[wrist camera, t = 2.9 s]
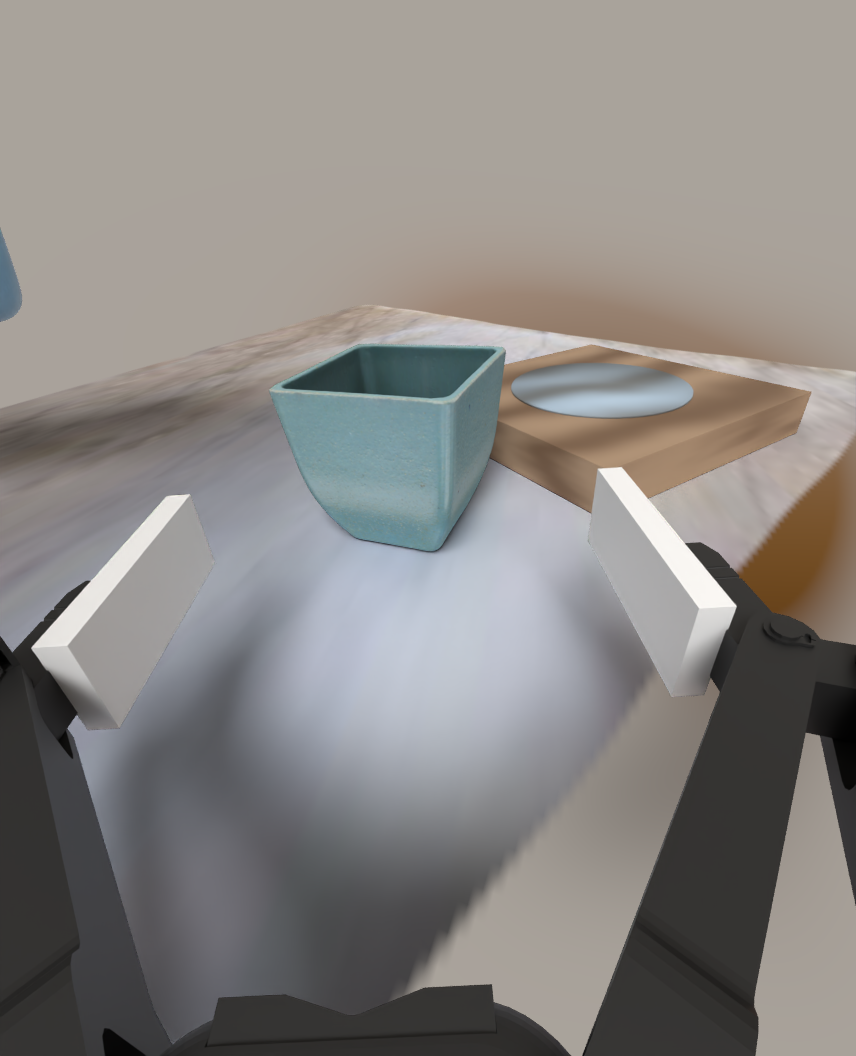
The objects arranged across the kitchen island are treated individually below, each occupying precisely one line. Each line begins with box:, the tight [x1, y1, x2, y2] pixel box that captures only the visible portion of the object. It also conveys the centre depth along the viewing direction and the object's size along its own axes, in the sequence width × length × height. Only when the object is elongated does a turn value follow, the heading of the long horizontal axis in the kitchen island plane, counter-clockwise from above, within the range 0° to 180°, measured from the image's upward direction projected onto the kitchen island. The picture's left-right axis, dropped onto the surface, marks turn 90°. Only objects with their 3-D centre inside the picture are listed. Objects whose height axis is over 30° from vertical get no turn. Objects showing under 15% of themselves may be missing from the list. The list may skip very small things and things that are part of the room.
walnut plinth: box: [490, 345, 811, 513], centre depth 38 cm, size 20×20×3 cm
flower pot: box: [269, 344, 506, 551], centre depth 26 cm, size 9×9×9 cm
